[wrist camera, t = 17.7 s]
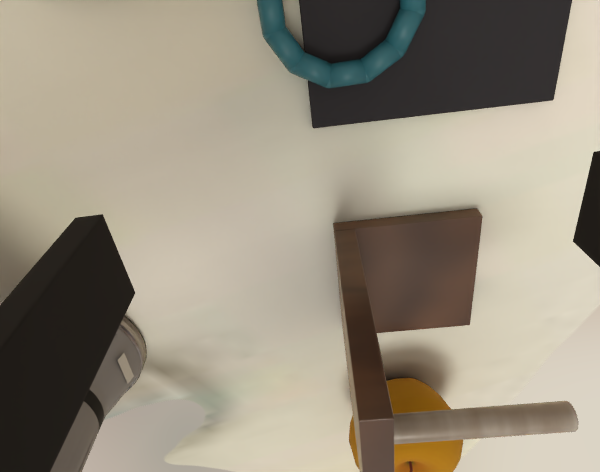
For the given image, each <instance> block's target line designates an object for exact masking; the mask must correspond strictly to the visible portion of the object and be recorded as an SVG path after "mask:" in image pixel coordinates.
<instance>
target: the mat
mask: <svg viewBox="0 0 600 472" xmlns="http://www.w3.org/2000/svg"><path fill="white" fill-rule="evenodd" d="M299 3H300V12H301V22H302V31H303V41H304V50H305V52H306V53H308V54H311V55H313V56H315V57H318V58H320V59H322V60H324V61H327V62H329V63H338V62H345V61H351V60H358V59H361V58H363V57H364V56H365V55H366V54H368V53H369V52H370V51H371V50H373V49H374V48H375V47H377V46H378V45H379V44H380V43H382V42H383V41H384V40H385V39H386V37H387V35H388V33H389V31H390V29H391V27H392V24H393V22H394V20H395V18H396V16H397V14H398V12H399V10H400V0H299ZM571 3H572V0H426V11H425V14H424V17H423V19H422V21H421V23H420V25H419V27H418V29H417V31H416V33H415V35H414V37H413V39H412V41H411V43H410V45H409V47H408V49H407V51H406V53H405V54H404V56H403V57H402V58H401V59H399V60H398V61H397V62H395V63H394V64H393V65H391V66H390V67H389V68H387V69H386V70H385V71H383V72H382V73H381V74H379V75H378V76H377V77H375V78H374V79H373V80H372V81H370V82H368V83H364V84H357V85H350V86H343V87H336V88H325V87H323V86H320V85H318V84H316V83H313V82H311V81H309V80H308V88H309V97H310V107H311V116H312V126H313V128H319V127H328V126H336V125H345V124H354V123H362V122H371V121H379V120H388V119H396V118H405V117H414V116H422V115H431V114H439V113H448V112H456V111H465V110H473V109H482V108H491V107H499V106H508V105H516V104H525V103H533V102H542V101H551V100H553V99H554V94H555V89H556V83H557V78H558V73H559V67H560V62H561V57H562V51H563V46H564V41H565V35H566V30H567V24H568V19H569V14H570V8H571Z"/></svg>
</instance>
